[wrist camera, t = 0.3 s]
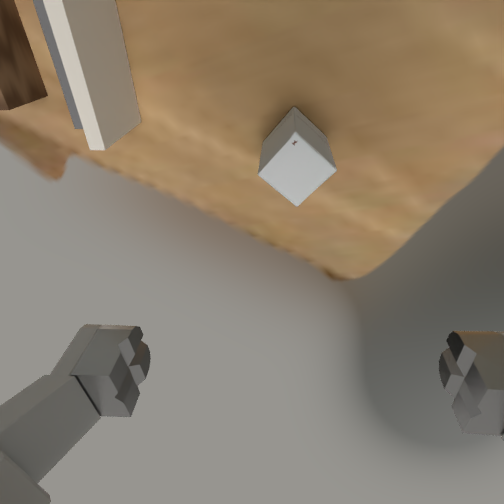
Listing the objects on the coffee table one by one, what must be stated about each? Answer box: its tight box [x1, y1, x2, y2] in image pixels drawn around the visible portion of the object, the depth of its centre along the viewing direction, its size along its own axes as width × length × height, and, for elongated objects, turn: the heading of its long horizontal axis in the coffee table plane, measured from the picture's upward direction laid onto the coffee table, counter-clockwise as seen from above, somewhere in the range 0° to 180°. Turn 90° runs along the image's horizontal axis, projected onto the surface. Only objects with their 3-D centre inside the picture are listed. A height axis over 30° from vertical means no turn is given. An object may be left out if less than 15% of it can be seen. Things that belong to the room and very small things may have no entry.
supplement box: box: [258, 107, 337, 207], centre depth 48 cm, size 7×7×13 cm
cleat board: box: [33, 0, 141, 150], centre depth 42 cm, size 22×9×13 cm, turn 2°
